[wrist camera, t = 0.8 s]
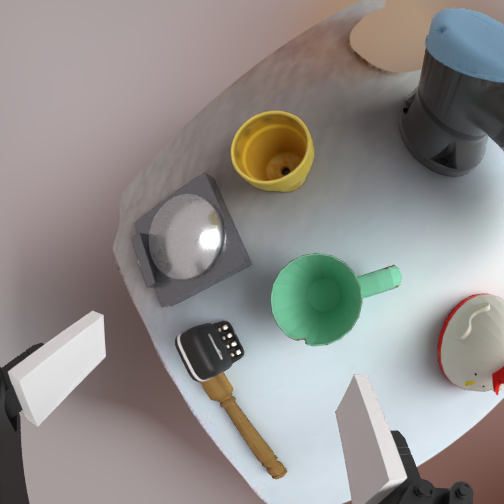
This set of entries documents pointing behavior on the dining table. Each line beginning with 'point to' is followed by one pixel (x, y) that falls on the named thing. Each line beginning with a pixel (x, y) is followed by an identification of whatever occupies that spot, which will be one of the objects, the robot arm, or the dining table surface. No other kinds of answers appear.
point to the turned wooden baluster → (243, 424)
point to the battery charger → (208, 349)
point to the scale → (188, 242)
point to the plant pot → (273, 151)
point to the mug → (324, 297)
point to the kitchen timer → (474, 344)
